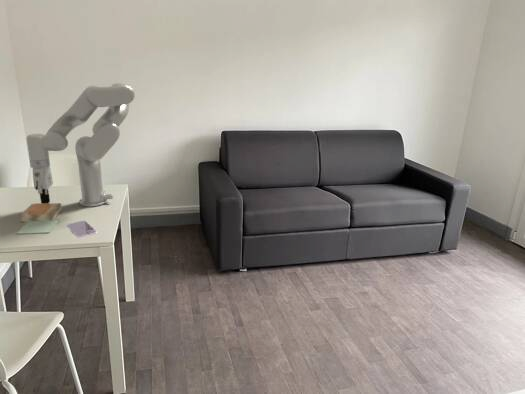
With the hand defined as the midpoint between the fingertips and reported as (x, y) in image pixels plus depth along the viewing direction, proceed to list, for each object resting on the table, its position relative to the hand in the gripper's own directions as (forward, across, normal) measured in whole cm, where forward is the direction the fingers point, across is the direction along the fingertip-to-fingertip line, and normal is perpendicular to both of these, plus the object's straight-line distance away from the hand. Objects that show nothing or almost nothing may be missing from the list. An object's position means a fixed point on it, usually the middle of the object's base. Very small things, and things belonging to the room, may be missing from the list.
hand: (45, 202), depth 181 cm
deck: (+4, -6, 0) cm, 7 cm away
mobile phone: (+4, -23, -20) cm, 31 cm away
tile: (+1, -9, 0) cm, 9 cm away
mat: (+4, -20, -3) cm, 20 cm away
